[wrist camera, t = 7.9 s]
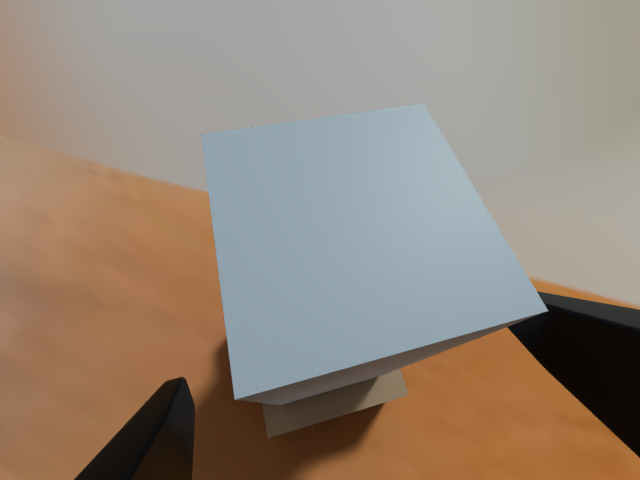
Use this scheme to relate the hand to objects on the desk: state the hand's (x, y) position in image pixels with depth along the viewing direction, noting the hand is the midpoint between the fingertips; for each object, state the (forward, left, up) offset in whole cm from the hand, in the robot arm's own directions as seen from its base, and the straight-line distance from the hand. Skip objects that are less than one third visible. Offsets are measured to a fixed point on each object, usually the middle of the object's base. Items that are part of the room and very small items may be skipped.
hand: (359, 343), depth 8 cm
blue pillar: (+1, -1, -8) cm, 8 cm away
